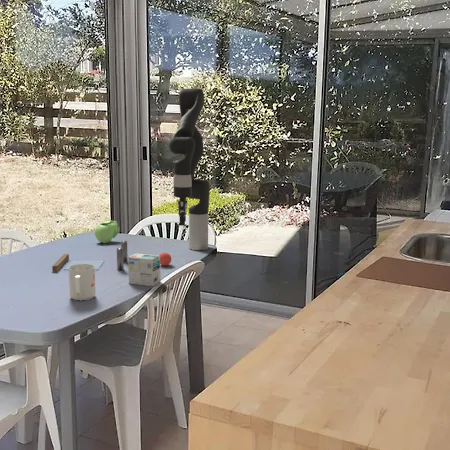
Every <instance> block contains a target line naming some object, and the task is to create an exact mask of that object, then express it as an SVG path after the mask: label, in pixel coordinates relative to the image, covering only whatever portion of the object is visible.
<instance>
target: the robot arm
mask: <svg viewBox="0 0 450 450" xmlns="http://www.w3.org/2000/svg"><path fill="white" fill-rule="evenodd" d="M178 105H179V113H180V120H179V122H178V125H177V129H176V131H175V133H174V134H173V136H171V139H170V141H169V143H168V144H169V145H168V146H169V151H170V152H171V153H172V154H174V155H183V157H184V158H182V159H178V160H175V161H174V164H173V197H175V198H178V199H179V200H178V201H177V206H178V207H177V211H178V216H179V226H180V227H181V226H185V225H186V221H187V220H186V219H187V217H186V215H187V210H188V249H189V250H191V249H192V250H191V251H205V250H207V251H208V250H209V207H210V192H211V191H210V190H211V189H210V187H211V186H210V183H209V180H207V179H196V178H195V171H196V168H197V167H198V164H199V162H200V160H201V158H202V156H203V154H204V139H203V136H202V133H201V132H200V131H199V129H198V128H197V127H196V125H197V122H198V119H199V117H200V115H201V113H202V110H203V109H204V105H205V94H204V91H203V89H202V88H199V87H198V88H196V87H195V88H194V87H193V88H180V89H179V91H178ZM187 198H188V199H193V200H198V203H197V204H195V205H192V206H189V208H188V200H187Z"/></svg>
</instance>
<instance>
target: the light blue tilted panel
mask: <svg viewBox="0 0 450 450" xmlns="http://www.w3.org/2000/svg"><path fill="white" fill-rule="evenodd" d="M104 263H105V260H71V261H70V262H69V264H68V265H66V267H65V268H64V269H63V270H64V271H69V267H70V266H72V265H77V264H91V265H94V266H95V271H99V270H100V269H101V267H102V265H103V264H104Z"/></svg>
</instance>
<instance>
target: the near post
mask: <svg viewBox="0 0 450 450" xmlns="http://www.w3.org/2000/svg"><path fill="white" fill-rule="evenodd" d="M116 268H117V271H124V270H125V269H124V268H125V267H124V262H123V248H121V247H117V248H116Z"/></svg>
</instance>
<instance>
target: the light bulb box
mask: <svg viewBox="0 0 450 450" xmlns="http://www.w3.org/2000/svg"><path fill="white" fill-rule="evenodd" d="M127 263H128V265H127V266H128V284H131V285H139V286H145V287H146V286H148V287H155V286H156V285H158V284H159V283H160V282H159V281H162V280H161V279H162V278H161V264H160V254H159V255H158V254H157V255H156V254H145V253H144V254H143V253H138V252H137V253H134V254H131V255H129V256H128V262H127ZM158 282H159V283H158ZM157 283H158V284H157Z"/></svg>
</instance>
